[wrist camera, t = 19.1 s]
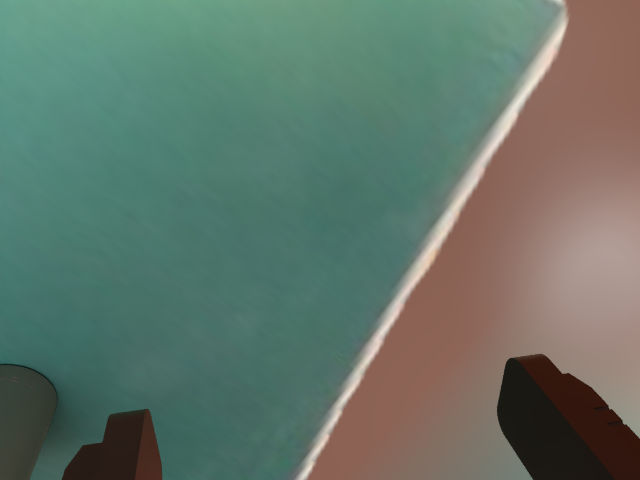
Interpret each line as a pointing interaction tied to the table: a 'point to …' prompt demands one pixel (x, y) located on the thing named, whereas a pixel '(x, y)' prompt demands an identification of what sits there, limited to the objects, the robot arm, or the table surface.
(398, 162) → the table surface
